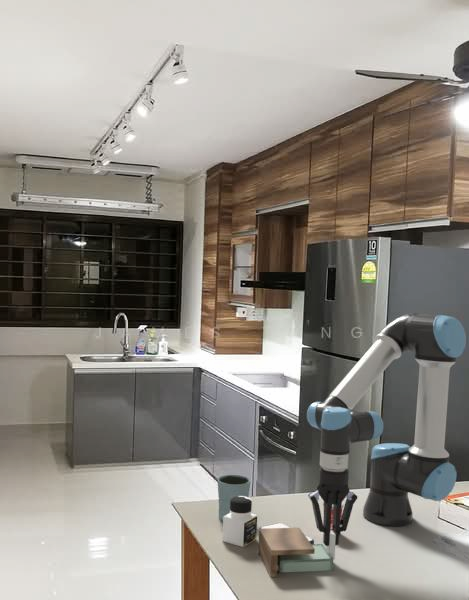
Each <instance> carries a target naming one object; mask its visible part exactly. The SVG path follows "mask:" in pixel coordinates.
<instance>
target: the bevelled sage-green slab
mask: <svg viewBox="0 0 469 600" xmlns="http://www.w3.org/2000/svg"><path fill="white" fill-rule="evenodd" d="M312 546H313V547H314V549H315V552H314V554H294V555H278V560H277V563H278V565H279V571H278V572H279V573H299V572H321V571H322V572H323V571H327V572H328V571H333V570H334V559H333V557H332V556H331V555H330V553H329V552H328V551H327V550H326V546H325V545H324V543H323V544H322V543H321V544H320V543H318V544H316V543H314V545H312Z"/></svg>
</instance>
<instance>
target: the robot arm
mask: <svg viewBox="0 0 469 600" xmlns="http://www.w3.org/2000/svg"><path fill="white" fill-rule="evenodd" d="M466 344H467V336H466V331H465V328H464V326H463V324H462V323H461V322H460V320H458V319H457V318H455V317H454V316H449V315H443V314H440V315H438V314H428V313H427V314H425V313H416V312H411V313H406V314H403V315H401V316H398V317H396V318H395V319H394V320H392V321H391V322H389V323H388V324H386V325H385V326H384V327H383V328H382V329H380V331H379V332H378V333H377V334H376V335H375V336H374V337H373V343H372V345H371V346H370V347H369V348H368V350H367V351H366V352H365V353H364V354H363V356H362V357H360V359H359V360H358V361H357V362H356V364H354V366H353V367H352V368H351V369H350V371H348V373H346V375H345V376H344V377H343V379H342V380H341V381H340V382H339V383H338V384H337V386H336V387H335V388H334V389H333V390H332V392H330V394H328V396H327V398H325V400H324V401H323V402H322V401H315V402H313V403H311V404H310V405H309V406H308V409H307V411H306V420H307V423H309V425H310V426H311V427H312V428H316V429H317V430H319V431H320V452H319V453H320V454H319V466H320V467H319V470H318V472H319V473H318V486H317V488H316V490H315V491H314V492H312V493H311V492H310V493H309V494H308V495H307V496H308V498H309V500H310V502H311V504H312V510H313V514H314V521H315V524H316V528H317V530H318V531H319V532H320V533H323V537H322V538H323V539H322V542H323V546H324V547H325V548H326V550H327V551H328V552H329V553H330V555H331V556H332V557H333V560H335V557H336V546H338V545H339V543H340V542H339V540H340V535H341V534H342V533H341V532H346V531H347V529H348V525H349V522H350V518H351V514H352V511H353V507H354V504H355V502H357V500H358V495H356V494H355V492H352V491H351V490H350V487H349V473H350V471H349V469H348V468H349V465H350V449H351V448H350V447H351V444H353V443H360V442H365V441H369V442H370V441H372V440H375V439H378V438H379V437H380V436H381V435H382V434H383V431H384V421H383V418H382V417H381V415H380V414H379V413H377V412H375V411H369V410H365V411H357V410H354V407H355V406H356V405H357V404H358V403H359V402H360V400H361V399H362V398H363V397H364V396H365V394H367V392H368V391H369V390H370V388H371V387H372V386H373V385H374V383H376V381H377V380H378V378H379V377H380V376H381V375H382V374H383V373H384V371H385V370H386V369H387V368H388V367H389V366H390V364H391V363H392V362H393V361H394V360H397V359H399V358H401V356H402V355H403V354H405V353H407V352H414V353H415V354H414V360H415V361H416V362H417V364H418V365H419V368H418V371H419V372H418V384H417V385H418V388H417V399H416V414H415V415H416V416H415V429H414V430H415V431H414V444H413V445H412V446H410V445H409V444H406V443H398V442H397V443H395V442H392V443H391V442H390V443H389V442H388V443H387V442H386V443H380V444H376V445H375V446H373V447H372V448H371V449H372V450H371V457H370V477H369V478H370V482H369V484H370V485H369V492H368V495H367V498H366V500H365V503H364V505H363V509H362V515H363V517H364V519H366V520H368V521H369V522H372V523H374V524H378V525H382V526H387V527H404V526H408V525H410V524H411V523H412V522H413V515H414V514H413V513H414V512H413V510H412V507H411V503H410V499H409V496H408V495H409V494H412V495H415V496H419V497H420V498H423V499H424V500H429V501H430V500H431V501H435V502H441V501H442V500H445V499H446V498H448V496H449V495H450V493H451V492H452V491H453V489H454V487H455V484H456V482H457V470H456V467H455V466H454V465H453V464H452V463H451V462H450V453H449V452H448V451H447V450H446V449H445V443H446V441H445V440H446V428H447V413H448V411H447V410H448V400H449V384H450V383H449V382H450V369H451V367H452V366H453V365H455V363H457V362H456V360H457V358H458V357H461V355H462V354H463V353H464V350H465V348H466ZM319 497H320V498H321V500H322V502H323V501H324V506H323V519H322V513H321V507H320V503H319V501H320V498H319ZM345 499H346V500H345ZM344 500H345V501H344ZM343 501H344V502H345V503H344V506H343V508H342V516H341V507H342V502H343ZM332 504H333V527H332V529H333V531H330V529H331V509H332ZM340 516H341V520H340Z"/></svg>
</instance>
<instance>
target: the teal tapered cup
mask: <svg viewBox="0 0 469 600" xmlns="http://www.w3.org/2000/svg"><path fill="white" fill-rule="evenodd" d="M250 488H251V479H250V478H249V477H247V476H244V475H239V474H226V475H221V476H219V477H217V493H218V495H217V496H218V519H219V520H220V521H221V522H223V517H224V516H225V515H227V514H229V513H230V500H231V498H233V497H236V496H245V497H248V498H250V497H249V495H250Z"/></svg>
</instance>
